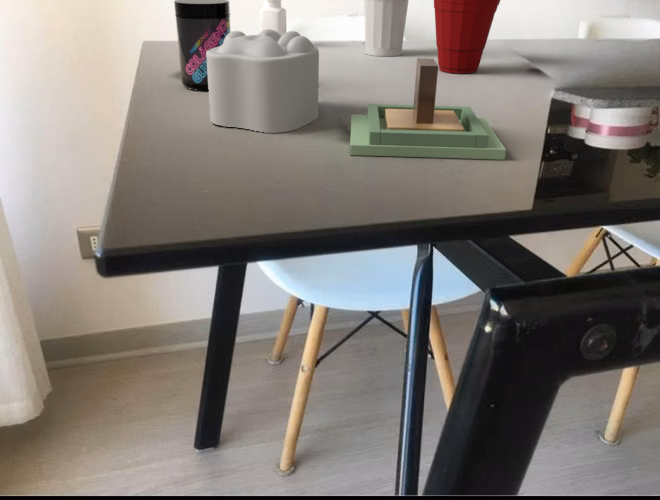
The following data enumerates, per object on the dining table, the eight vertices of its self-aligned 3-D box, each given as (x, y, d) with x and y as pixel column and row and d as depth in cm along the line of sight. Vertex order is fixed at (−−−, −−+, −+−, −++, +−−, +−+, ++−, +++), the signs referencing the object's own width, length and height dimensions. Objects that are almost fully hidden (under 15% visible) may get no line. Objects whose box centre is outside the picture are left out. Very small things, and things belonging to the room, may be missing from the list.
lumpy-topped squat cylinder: (197, 123, 66) (190, 37, 62) (256, 98, 77) (253, 23, 73) (287, 135, 62) (286, 45, 59) (335, 107, 73) (337, 29, 69)
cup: (394, 48, 113) (398, -24, 108) (414, 56, 106) (420, -21, 101) (353, 50, 111) (355, -24, 105) (371, 58, 104) (375, -21, 99)
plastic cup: (510, 73, 94) (523, -14, 89) (455, 79, 89) (464, -12, 84) (462, 61, 102) (470, -19, 97) (408, 66, 97) (414, -18, 92)
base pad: (483, 127, 67) (486, 106, 66) (504, 160, 57) (508, 136, 56) (351, 123, 67) (351, 103, 66) (349, 155, 57) (350, 131, 56)
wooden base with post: (452, 121, 65) (459, 56, 62) (463, 141, 58) (471, 70, 55) (384, 120, 65) (388, 54, 62) (387, 139, 58) (391, 67, 56)
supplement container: (174, 90, 80) (166, 2, 75) (190, 80, 86) (183, -3, 81) (226, 93, 79) (221, 4, 74) (238, 82, 85) (235, -1, 81)
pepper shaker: (268, 43, 117) (266, -13, 113) (287, 44, 116) (287, -12, 111) (258, 46, 113) (256, -11, 109) (279, 47, 112) (277, -10, 108)
